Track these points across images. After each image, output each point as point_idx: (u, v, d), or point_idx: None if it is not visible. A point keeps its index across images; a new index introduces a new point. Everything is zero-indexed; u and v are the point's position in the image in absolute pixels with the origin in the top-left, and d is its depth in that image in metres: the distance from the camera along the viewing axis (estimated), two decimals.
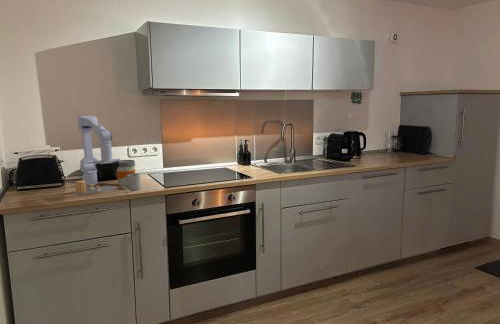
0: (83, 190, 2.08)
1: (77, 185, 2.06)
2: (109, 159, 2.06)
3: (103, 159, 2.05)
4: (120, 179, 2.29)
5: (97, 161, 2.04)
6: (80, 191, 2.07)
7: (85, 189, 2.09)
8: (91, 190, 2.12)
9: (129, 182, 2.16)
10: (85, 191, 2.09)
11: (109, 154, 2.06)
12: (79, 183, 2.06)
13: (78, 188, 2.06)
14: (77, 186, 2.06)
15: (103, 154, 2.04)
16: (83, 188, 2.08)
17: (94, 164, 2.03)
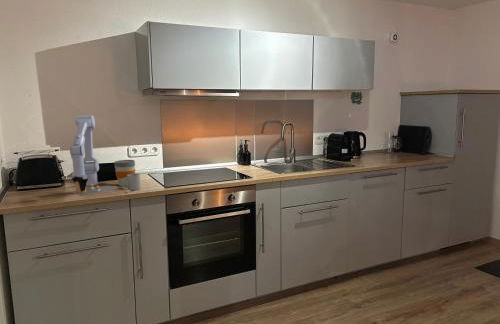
0: None
1: (77, 185, 2.06)
2: (74, 173, 2.05)
3: None
4: (120, 179, 2.29)
5: None
6: (80, 191, 2.07)
7: (85, 189, 2.09)
8: (91, 190, 2.12)
9: (129, 182, 2.16)
10: (85, 191, 2.09)
11: (74, 168, 2.05)
12: None
13: (78, 188, 2.06)
14: (77, 186, 2.06)
15: None
16: None
17: None
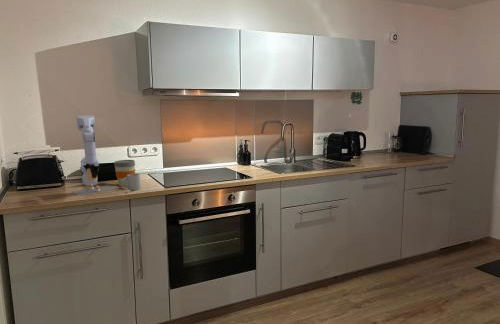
0: None
1: (89, 172, 2.06)
2: (86, 160, 2.05)
3: None
4: (120, 179, 2.29)
5: None
6: (92, 178, 2.06)
7: None
8: (91, 190, 2.12)
9: (129, 182, 2.16)
10: (96, 178, 2.09)
11: (86, 155, 2.04)
12: None
13: (90, 175, 2.06)
14: (89, 173, 2.06)
15: None
16: None
17: (84, 162, 2.12)
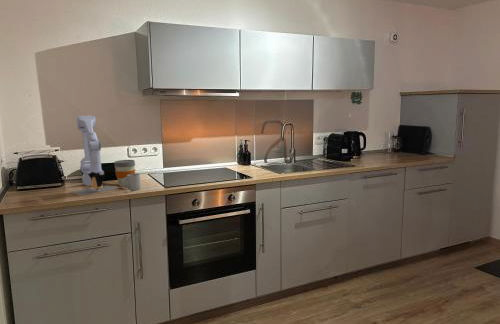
0: (100, 186, 2.08)
1: (94, 181, 2.07)
2: (91, 169, 2.06)
3: None
4: (120, 179, 2.29)
5: None
6: (97, 187, 2.07)
7: None
8: (91, 190, 2.12)
9: (129, 182, 2.16)
10: (101, 187, 2.10)
11: (91, 164, 2.05)
12: None
13: (95, 184, 2.07)
14: (94, 182, 2.07)
15: None
16: None
17: (89, 171, 2.13)
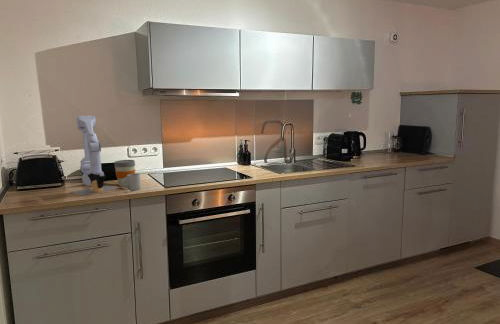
0: (100, 189, 2.09)
1: (94, 184, 2.07)
2: (91, 170, 2.06)
3: None
4: (120, 179, 2.29)
5: None
6: (97, 190, 2.08)
7: (102, 188, 2.10)
8: (91, 190, 2.12)
9: (129, 182, 2.16)
10: (102, 190, 2.10)
11: (91, 165, 2.05)
12: (96, 182, 2.07)
13: (95, 187, 2.07)
14: (94, 185, 2.07)
15: None
16: None
17: (89, 172, 2.13)
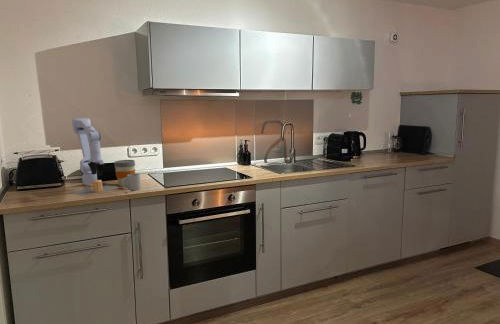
0: (100, 189, 2.09)
1: (94, 184, 2.07)
2: (91, 159, 2.13)
3: None
4: (120, 179, 2.29)
5: None
6: (97, 190, 2.08)
7: (102, 188, 2.10)
8: (91, 190, 2.12)
9: (129, 182, 2.16)
10: (102, 190, 2.10)
11: (91, 154, 2.13)
12: (96, 182, 2.07)
13: (95, 187, 2.07)
14: (94, 185, 2.07)
15: None
16: (100, 187, 2.09)
17: (89, 161, 2.20)
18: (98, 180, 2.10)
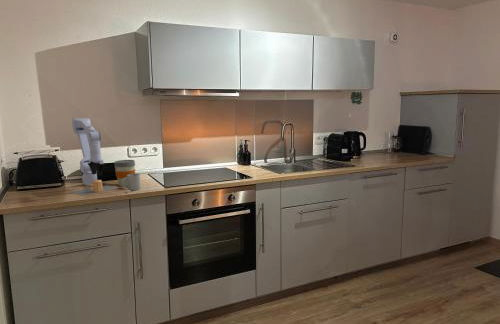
0: (100, 189, 2.09)
1: (94, 184, 2.07)
2: (91, 159, 2.13)
3: None
4: (120, 179, 2.29)
5: None
6: (97, 190, 2.08)
7: (102, 188, 2.10)
8: (91, 190, 2.12)
9: (129, 182, 2.16)
10: (102, 190, 2.10)
11: (91, 154, 2.13)
12: (96, 182, 2.07)
13: (95, 187, 2.07)
14: (94, 185, 2.07)
15: None
16: (100, 187, 2.09)
17: (89, 161, 2.20)
18: (98, 180, 2.10)
